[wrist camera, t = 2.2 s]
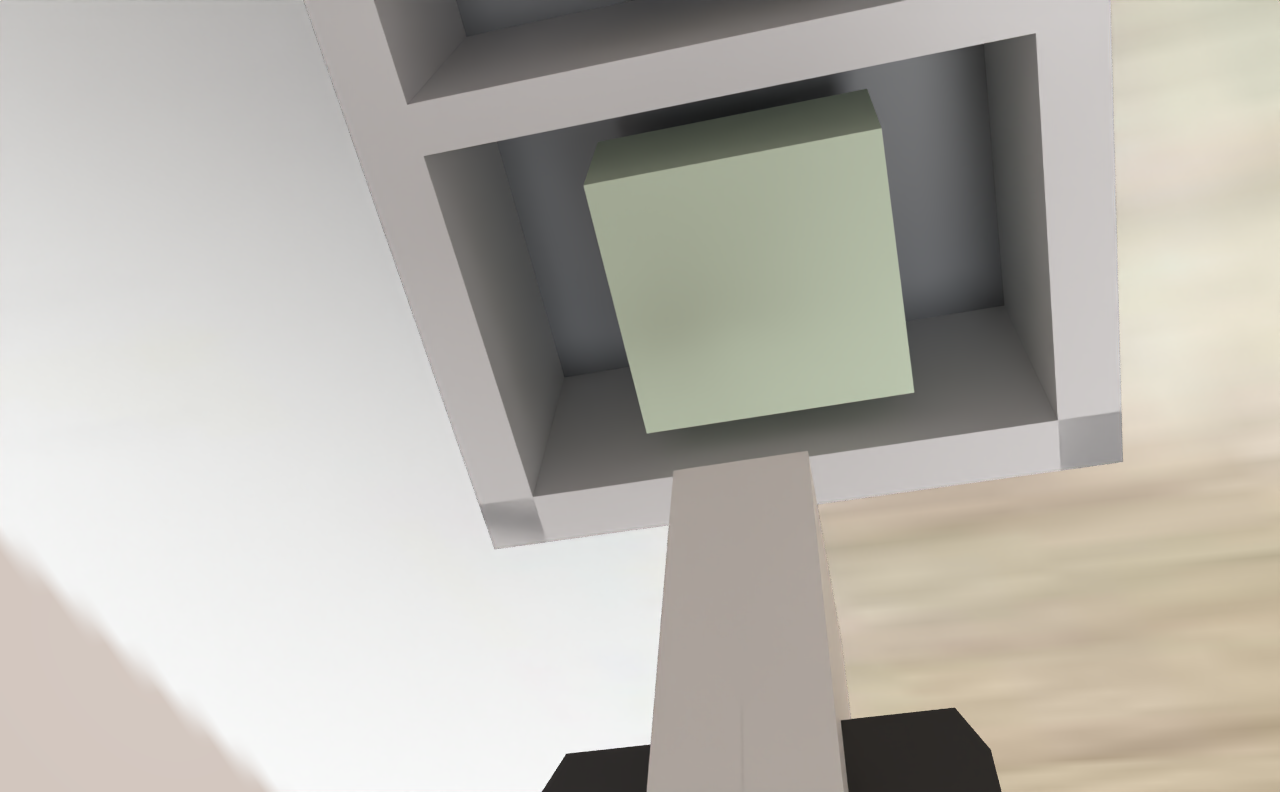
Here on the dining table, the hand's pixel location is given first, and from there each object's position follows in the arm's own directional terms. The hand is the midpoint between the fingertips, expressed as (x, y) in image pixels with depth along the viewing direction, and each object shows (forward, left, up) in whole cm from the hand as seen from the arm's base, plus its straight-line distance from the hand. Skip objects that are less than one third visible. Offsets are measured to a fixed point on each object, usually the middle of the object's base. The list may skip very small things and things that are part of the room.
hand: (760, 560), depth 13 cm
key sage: (0, 0, -9) cm, 9 cm away
